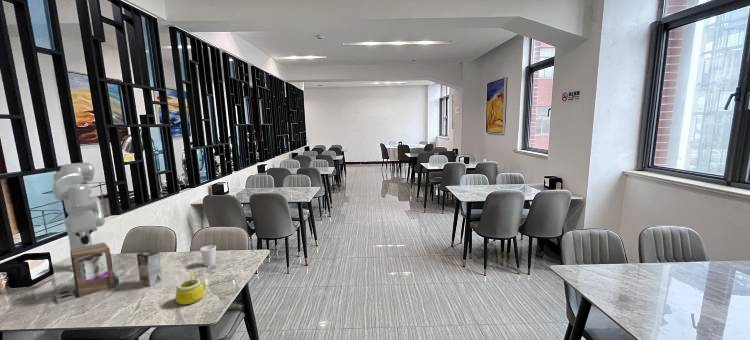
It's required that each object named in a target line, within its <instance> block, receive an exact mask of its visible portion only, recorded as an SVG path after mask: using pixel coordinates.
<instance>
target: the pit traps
mask: <svg viewBox="0 0 750 340" xmlns="http://www.w3.org/2000/svg"><path fill="white" fill-rule="evenodd" d="M54 297H55V299H56V302H57V305H58V304H62V303H66V302H69V301H72V300H75V299H76V295H75V292H74V290H73V288H69V289H66V290H63V291H59V292H55V293H54Z"/></svg>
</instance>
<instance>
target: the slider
mask: <svg viewBox="0 0 750 340" xmlns="http://www.w3.org/2000/svg"><path fill="white" fill-rule="evenodd" d="M110 256H111V257H112V253H110ZM111 263H112V264H113V261H112V259H111ZM113 270H114V268H113V267H112V271H113ZM113 278H114V286H115V285H117V284H120V279H119V277H118V276H117V274H116V273H115V272H114V271H113ZM73 285H74V291H75V293H76V295H77V296H79V292H78V285H77V284H75V283H74V284H73Z"/></svg>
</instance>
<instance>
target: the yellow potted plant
mask: <svg viewBox="0 0 750 340" xmlns="http://www.w3.org/2000/svg"><path fill="white" fill-rule="evenodd" d="M200 273H201V269H200V270H198V274H197V273H196V271H194V270H193V271H192V272H191V273H190V278H189V279H186V280H184V281H181V282H180V283H179V284H177V285H176V290H175V301H176V303H178V304H180V305H189V304H193V303H196V302H198V301H199V300H201V299H202V298H203V296H204V293H205V291H206V288H207V287H206V283H205V282H204V281H201V280H200V279H199V275H200ZM202 284H203V286H202Z"/></svg>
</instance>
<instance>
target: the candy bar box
mask: <svg viewBox="0 0 750 340" xmlns="http://www.w3.org/2000/svg"><path fill="white" fill-rule="evenodd" d="M79 264H80V271H81V278H82V283H85V282H89V281H92V280H96V279H99V278H103V277H107V276H108V269H107V262H106V254H105V253H98V254H94V255H91V256H88V257H85V258H83V259H80V260H79Z"/></svg>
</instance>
